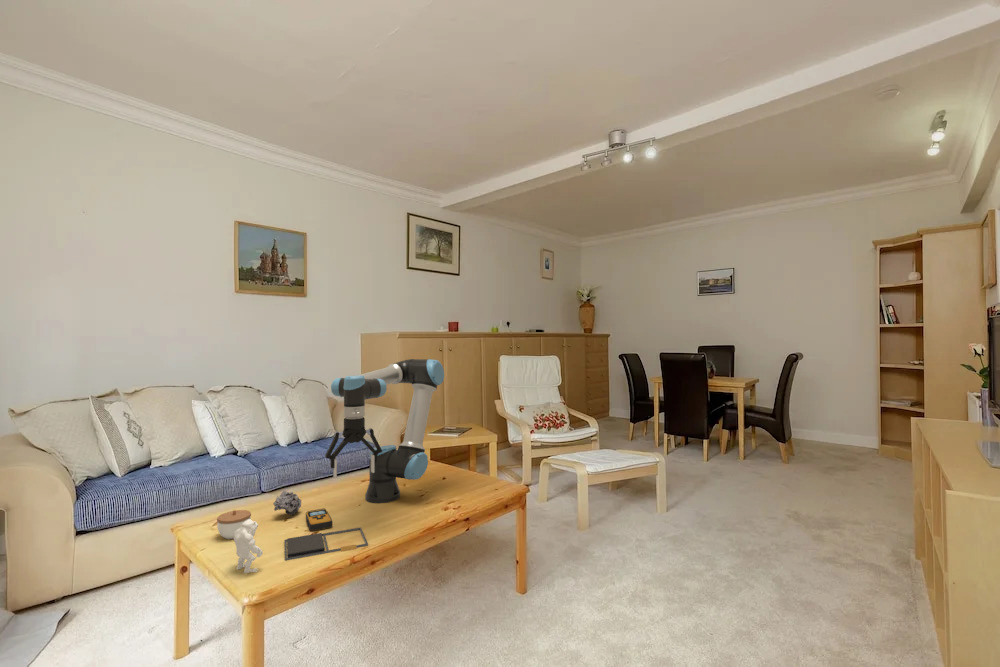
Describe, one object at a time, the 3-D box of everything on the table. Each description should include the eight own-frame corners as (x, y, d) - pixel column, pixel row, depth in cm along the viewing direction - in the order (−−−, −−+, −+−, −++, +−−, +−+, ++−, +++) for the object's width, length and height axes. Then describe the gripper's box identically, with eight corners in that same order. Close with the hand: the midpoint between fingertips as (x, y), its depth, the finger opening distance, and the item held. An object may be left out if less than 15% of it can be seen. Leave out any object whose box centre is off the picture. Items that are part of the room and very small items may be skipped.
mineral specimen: (296, 509, 199) (296, 486, 200) (308, 514, 194) (308, 490, 194) (267, 518, 190) (267, 493, 190) (278, 524, 184) (278, 498, 184)
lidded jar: (227, 545, 165) (227, 518, 165) (210, 538, 171) (211, 512, 171) (256, 534, 174) (257, 508, 174) (240, 528, 180) (240, 503, 180)
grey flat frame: (284, 543, 167) (284, 537, 167) (360, 530, 178) (360, 525, 178) (284, 563, 151) (284, 557, 151) (368, 548, 162) (368, 542, 162)
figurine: (227, 570, 147) (227, 521, 148) (248, 561, 153) (248, 514, 153) (245, 579, 141) (245, 529, 141) (266, 570, 147) (267, 521, 147)
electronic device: (309, 533, 175) (309, 524, 175) (304, 519, 189) (304, 510, 189) (333, 528, 179) (333, 519, 179) (327, 515, 192) (327, 506, 193)
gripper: (320, 421, 169) (320, 481, 168) (390, 416, 180) (390, 472, 180) (317, 418, 175) (317, 476, 175) (385, 413, 187) (385, 467, 187)
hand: (354, 474), depth 177 cm, fingers open, 13 cm apart
